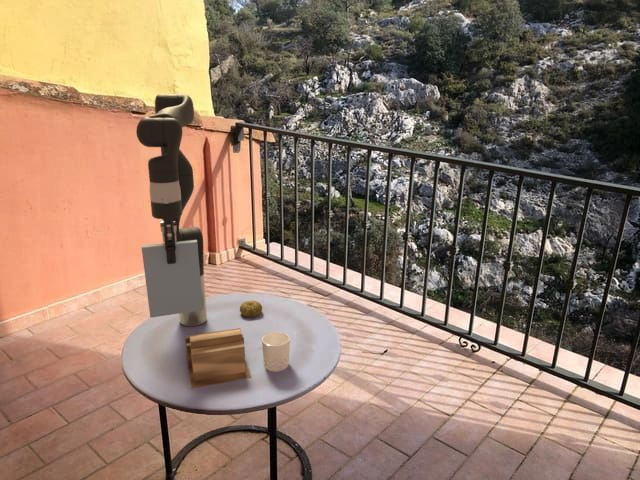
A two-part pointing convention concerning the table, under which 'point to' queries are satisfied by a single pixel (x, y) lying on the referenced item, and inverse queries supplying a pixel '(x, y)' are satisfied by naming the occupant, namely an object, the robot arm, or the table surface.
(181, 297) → the tall board
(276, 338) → the white cup
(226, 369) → the short oak offcut
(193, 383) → the rack
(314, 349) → the table surface
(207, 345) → the tall oak offcut
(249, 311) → the sculpture
